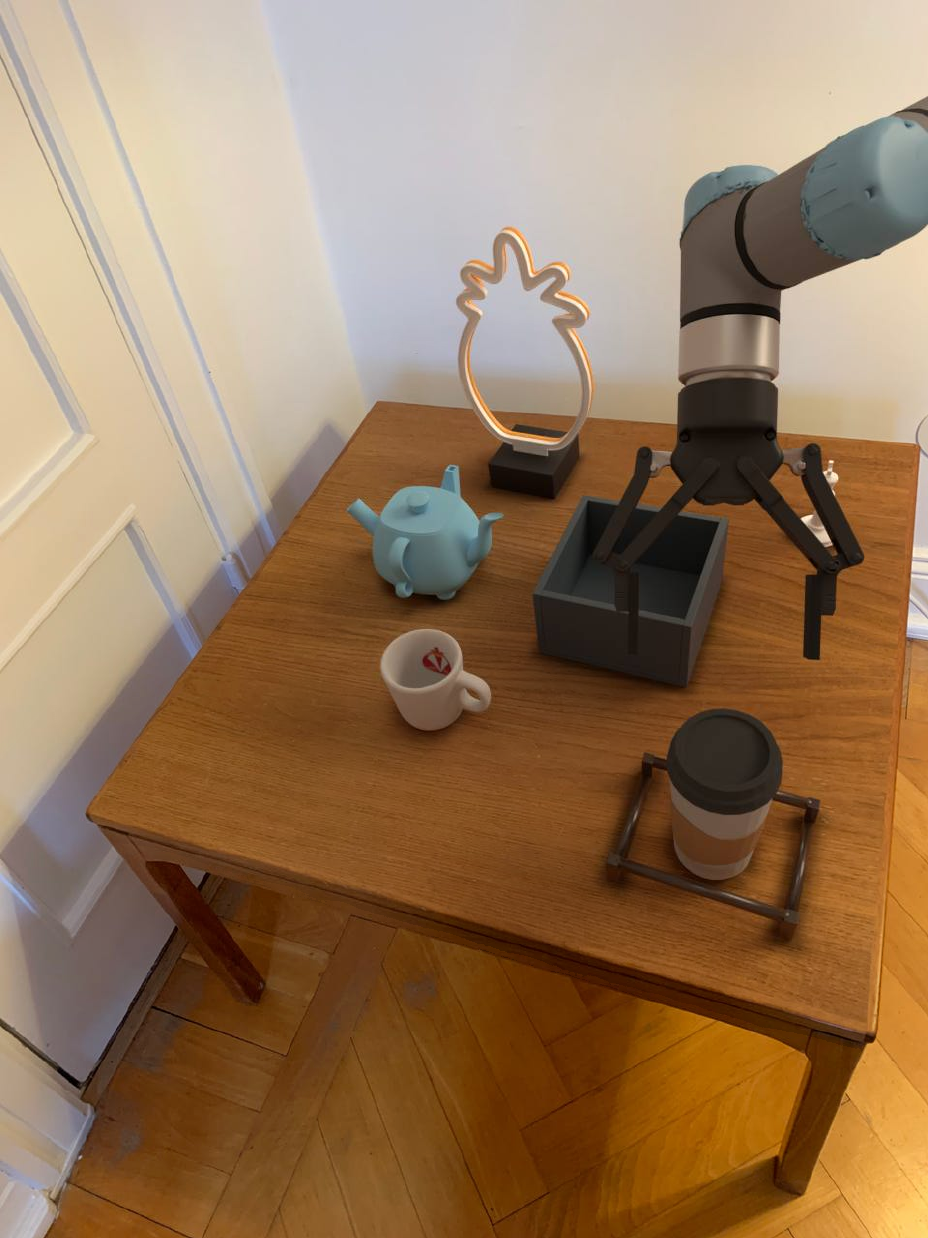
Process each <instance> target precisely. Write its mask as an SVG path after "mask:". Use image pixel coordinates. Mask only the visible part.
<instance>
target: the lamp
mask: <svg viewBox="0 0 928 1238" xmlns="http://www.w3.org/2000/svg"><path fill="white" fill-rule="evenodd" d="M507 245H508V246H510V247H511V249H512V250H513V253H514V255H515V258H516V261H517V265H518V270H519V274H520V279H521V280H520V281H521V284H522V287H523V289H524V291H525V292H530V291H532V290H534V289H535V288H537V287H538V286H539V285H541V284H543V283H545V282H546V281H548V280H550V279H552V278H554V280H553V281H551V283H549V285H548V286H547V287H546V288H545V289H544V290H543V291H542V292H541V294H540V295H539V299H540V301H542V302H544V303H546V304H549V305H552V306H554V307H557V308H560V309H561V310H564V311H566V312H567V313H564V314H560V315H554V316H553V317H552V319H551V324H552V326H554V328H555V330H556V331H557V332H558V334H559V335H560V336H561V338H562V339H563V341H564V343H565V344H566V346H567V348H568V349H569V351H570V353H571V355H572V357H573V359H574V361H575V364H576V366H577V370H578V374H579V377H580V383H581V399H580V406H579V411H578V415H577V417H576V419H575V421H574V423H573V425H572V426H571V428H570V429H569V430H568V431H562V430H557V429H551V428H545V427H544V428H543V427H539V426H532V425H524V424H519V423H515V425H514V426H513V427H512V429H511V430H509V429H507V428H506V427H504V426H503V425H502V424H501V423H500V422H499V421H498V420H497V419H496V417H495V416H494V415H493V414H492V412H491V411H490V409H489V407H488V406H487V404H486V403H485V401H484V400H483V398H482V396H481V394H480V392H479V390H478V388H477V385H476V382H475V379H474V376H473V371H472V366H471V345H472V340H473V337H474V334H475V331H476V328H477V327H478V324H479V322H480V321H481V319H482V318H483V316H484V312H483V311H482V310H481V309H480V308H479V307H478V306H477V305H475V303H474V302H473V301H483V300H485V299H486V298H487V296H488V295H489V294H488V290H487V288H485V283H488V284H489V285H490V284H491V285H497V284H499V283H500V282H501V281H502V280H503V278H504V276H505V273H506V272H507V266H508V255H507V253H508V252H507ZM492 258H493V259H492V260H493V265H491V264H488V263H486V262H484V261H482V260H481V259H471V260H468V261H467V262H466V263H465V264H464V265H463V267H461V269H460V271H459V277H460V280H461V283H462V284H463V285H464V286H465V287H466V288H465V289H463V290H462V292H461V293H459V294H458V295H457V297H456V299H455V304H456V307H457V309H458V310H459V311H460V312H461V313H462V314H463V315H464V316H465V317H466V319H467V322H466V324H465V325H464V327H463V330H462V334H461V337H460V340H459V344H458V345H459V346H458V352H457V365H458V375H459V379H460V383H461V386H462V390H463V392H464V395H465V397H466V399H467V401H468V403H469V404H470V407H471V409H472V410H473V412H474V414H475V415H476V417H477V418H478V419H479V421H480V422H481V424H482V425H483V426H484V428H485V429H486V430H487V431H488V432H489V433H490V434H491V435H492V436H494V437H495V438H496V439H497V440H499V441H501V442H502V443H501V445H500V446H499V448H498V449H497V450H496V451H495V453H494V455H493V456H492V457H491V459H490V460H489V461H488V463H487V467H488V473H489V479H490V486H491V488H495V489H500V490H505V491H510V492H515V493H521V494H526V495H531V496H536V497H542V498H546V499H550V500H551V499H552V500H555V499H556V497H557V496H558V495H559V492H560V491H561V489H562V488H563V486H564V484H565V483H566V481H567V479H568V477H569V476H570V475H571V473H572V471H573V469H574V468H575V466H576V464H578V461H579V459H580V458H581V457H580V440H579V439H580V438H579V437H580V436H579V433H580V431H581V429H582V428H583V426H584V424H585V423H586V420H587V419H588V416H589V414H590V411H591V409H592V405H593V399H594V390H595V389H594V387H595V384H594V374H593V369H592V365H591V362H590V358H589V355H588V352H587V350H586V347H584V346H585V345H583V342H582V340H581V338H580V337H579V335H578V333H577V332H576V330H575V329H579V328H580V329H581V328H582V327H584V325H585V324H586V322H587V321H588V320H589V318H590V316H591V310H590V308H589V306H588V304H587V303H586V302H585V301H584V300H582V299H581V298H580V297H579V296H577V295H574V294H571V293H569V292H565V291H562V289H563V288H564V287H565V285H566V284H567V283H568V282H569V281H570V279H571V274H572V273H571V269H570V267H569V266H568V265H567V264H566V263H565V262H562V261H553V262H551V263H548V264H547V265H545V266H543V267H542V268H541V269H540V270H536V269H535V266H534V261H533V255H532V252H531V249H530V246H529V244H528V242H527V239H526V237H525V236H524V234H523V233H522V232H521V231H520V230H519V229H517V228H515V227H513V226H505V227H503V228H502V229H500V231H499V232H498V234H497V235H496V236H495V237H494V240H493V243H492ZM483 281H484V282H485V283H484V282H483Z"/></svg>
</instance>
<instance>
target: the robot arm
mask: <svg viewBox="0 0 928 1238" xmlns="http://www.w3.org/2000/svg"><path fill="white" fill-rule="evenodd" d="M684 197H685V198H684V203H683V214H682V215H683V216H682V227H681V228H682V230H681V231H680V237H679V242H678V243H679V250H680V283H679V285H680V287H679V288H680V290H679V301H680V302H679V336H678V368H677V369H678V371H677V372H678V373H677V380H678V382H679V383H681V384H682V385H683V386H684V387H683V386H682V388H681V389H680V391H679V392H678V393H677V409H676V410H677V414H676V415H677V416H676V442H675V446H674V449H673V450H672V451H665V450H664V451H663V450H656V449H655V450H654V449H651V448H650V447H649V446H646V445H644V446H641V447H638V449H637V452H636V457H635V464H634V470H633V471H634V472H633V476H632V477H631V479H630V481H629V483H628V485H627V488H626V489H625V491H624V493H623V494H622V496H621V498H620V500H619V501H620V502H619V504H618V506H617V508H616V510H615V512H614V514H613V516H612V517H611V519H610V521H609V523H608V525H607V527H606V529H605V531H604V533H603V535H602V537H601V538H600V540H599V542H598V544H597V546H596V548H595V550H594V552H593V559H594V561H596V562H597V563H600V564H602V565H605V566H608V567H610V568H611V569H612V570H613V571H614V573H615V599H614V605H615V608H616V611H622V612H629V622H628V654H635V655H637V654H638V619H639V574H640V573H632V572H631V567H632V565H633V564H634V563H635V562H636V561H637V560H638V559H639V558H640V556H641V555H642V554H643V553H644V552H645V551H646V550H647V549H648V547H649V546H650V545H651V544H652V543H653V542H654V541H655V540H656V538H657V537H658V536H659V535H660V534H661V533H662V532H663V531H664V529H665V528H666V527H667V526H668V525H669V524H670V523H671V522H672V520H673V519H674V518H675V517H676V516H677V515H678V514H679V513H680V511H683V509H685V507H686V506H688V505H689V503H690V502H691V501H692V499H693V500H694V501H695V502H696V503H697V504H698V503H699V504H700V505H702V506H716V505H720V504H727V505H731V506H744V505H747V504H749V503H751V502H753V501H755V502H756V503H757V504H758V505H759V507H760V508H761V509H762V510H764V511H765V512H766V513H767V514H768V515H769V517H770V518H771V519H772V521H774V522H775V524H776V525H777V526H778V527H779V529H781V530H782V532H783V533H784V534H785V535H786V537H788V539H789V540H790V541H791V542H792V543H793V544H794V546H795V547H796V548H797V549H798V550H799V551H800V553H801V554H802V555H803V556H804V558H806V560H807V561H808V562H809V563H810V564H811V565H812V566H813V568H814V569H815V570H816V574H814V573H813V574H810V573H809V574H805V582H804V583H805V584H804V614H803V616H804V617H803V641H802V642H803V645H802V647H803V649H802V657H803V658H804V659H807V660H808V661H821V639H822V638H821V634H822V617H823V616H825V617H826V616H830V617H831V616H834V614H835V612H836V610H837V589H838V587H837V585H838V576H839V574H840V572H842V571H844V570H846V569H849V568H852V567H855V566H858V565H861V564H863V562H864V560H865V553H864V551H863V549H862V547H861V545H860V544H859V541H858V539H857V537H856V535H855V533H854V532H853V529H852V528H851V525H850V524H849V522H848V519H847V517H846V515H845V513H844V510H843V509H842V507H841V506H840V503H839V501H838V498H837V497H836V494H835V495H834V493H833V491H834V490H833V488H832V489H831V487H830V485H829V483H828V481H827V479H826V477H825V475H824V473H823V472H824V470H823V469H824V468H823V458H822V457H823V456H822V449H821V448H822V447H820V445H819V444H818V443H815V442H810V443H808V444H807V445H806V446H804V447H796V448H789V449H782V448H781V447H780V444H779V441H778V414H779V413H778V412H779V411H778V409H779V388H778V387H777V386H776V384H775V383H774V382H773V381H774V380H775V379H776V378H777V377H778V376H779V374H780V337H781V336H780V332H781V318H782V317H781V306H782V305H781V303H782V291H784V290H788V289H792V288H794V287H796V286H798V285H800V284H802V283H804V282H806V281H809V280H811V279H814V278H817V277H819V276H822V275H824V274H827V273H829V272H832V271H835V270H838V269H841V268H843V267H844V266H848V265H851V264H853V263H856V262H858V261H861V260H870V259H873V258H875V257H878V256H881V255H882V253H884V252H885V251H887V250H889V249H892V248H893V247H896V246H897V245H899V244H901V243H903V242H905V241H907V240H909V239H911V238H913V237H915V236H917V235H918V234H919V233H920V232H922V231H923V230H924V229H925V228H926V227H928V95H927V96H925V97H923V98H921V99H920V100H918V101H916V102H914V103H912V104H910V105H908V106H907V107H904V108H903V109H901V110H897V111H896V112H894V113H891V114H889V115H888V116H883V117H880V118H878V119H875V120H873V121H871V122H869V123H867V124H865V125H860V126H858V127H855V128H854V129H852V130H850V131H849V132H847V133H845V134H843V135H839V136H837V138H835V139H833V140H832V141H830V142H829V143H827V144H826V145H825V146H824V147H823V148H820V149H819V150H817V151H816V152H813V153H812V154H811V155H809V156H807V157H806V158H803V159H802V160H801V161H799V162H797V163H796V164H794V165H792V166H791V167H789V168H788V169H786V170H784V171H782V172H781V173H779V174H778V173H777V172H776V171H774V170H773V169H771V168H769V167H766V166H762V165H755V164H740V165H738V164H737V165H731V166H727V167H725V168H724V169H723V170H721V171H711V172H708V173H706V174H705V175H703V176H701V177H699V178H698V179H697V180H696V181H695V182H694V183H692V185H691V186H690V187H689V189H688V190H687V193H686V195H685V196H684ZM782 465H784V466H787V467H788V468H789V469H790V472H791V474H792V475H793V476H795V477H800V479H801V483H802V485H803V488H804V490H805V492H806V494H807V496H808V499H809V500H810V502H811V504H812V506H813V508H814V511H815V510H816V512H817V514H818V516H819V518H820V520H821V522H822V524H823V526H824V528H825V530H826V532H827V534H828V536H829V538H830V540H831V542H832V544H833V545H832V546H833V548H834V551H835V553H836V554H832V553H831V552H830V551H829V549H828V548H827V547H825V546H824V545H823V544H822V543H821V542H820V540H819V539H818V538H817V537H816V536H815V535H814V534H813V532H812V531H811V530H810V529H809V528H808V527H807V525H806V524H805V523H804V522H803V521H802V520H801V518H802V517H800V516H799V515H798V514H797V512H796V511H795V510H794V509H793V508H792V507H791V506H790V505H789V504H788V502H787V501H786V500H785V499H784V497H783V496H782V494H781V492H780V490H778V488H776V486H775V485H774V484H773V483H772V482H771V480H772V478H773V477H774V476H775V475H776V474H777V472H778V470H779V469H780V468H781V466H782ZM665 467H670V468H671V471H672V472H673V473H674V475H675V476H676V477H677V478H678V480H679V481H680V483H681V485H680V486H679V488H678V489H677V490H676V491H675V492H674V493H673V495H672V496H670V498H669V499H668V500H667V502H666V503H664V505H663V506H662V507H661V508H662V509H661V510H660V511H659V512H658V513H657V514H656V515H655V516H654V518H653V519H652V520H651V521H650V522H649V523H648V524H647V526H646V527H645V528H644V529H643V530H642V531H641V532H640V533H639V535H638V536H637V537H636V538H635V539H634V540H633V541H632V542H631V544H630V545H629V546H628V547H627V548H626V549H625V550H624V552H623V553H622V554H621V555H619V554H616V553H613V552H612V551H613V549H614V548H615V546H616V544H617V542H618V540H619V538H620V536H621V534H622V532H623V530H624V529H625V527H626V525H627V523H628V521H629V519H630V517H631V515H632V513H633V512H634V510H635V508H636V506H637V504H639V502H640V500H641V498H642V496H643V494H644V493H645V491H646V489H647V486H648V483H649V480H650V478H651V479H655V478H658V477H659V476H660V474H661V472H662V470H663V469H664V468H665ZM832 490H833V491H832Z"/></svg>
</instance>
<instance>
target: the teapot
mask: <svg viewBox="0 0 928 1238" xmlns="http://www.w3.org/2000/svg"><path fill="white" fill-rule="evenodd" d="M459 468H460V467H459V465H455V464H449V465H448V466H447V467H446V469H444V474H443V476H442V481H441V484H440V487H436V486H430V485H429V486H428V485H412V486H406V487H403V488H401V489H400V490H398V491H396V492H395V494H393V496H392V497H391V498H390V499H389V501H388V502H387V503H386V504H385V506H384V508H383V509H382V511H381V512H380V515H378V514H377V513H376V512H375V511H374V510H373V509H371V507H370V506H368V505H367V504H365V502H364V501H362V500H361V498H359V497H357V499H356V500H354V501H353V502H352V503H351V504H350V505H349V506H348V508H347V509H346V512H347V513H348V514H349V515H350V516H351V517H352V518H353V519H354V520H355V521H356V522H357V523H358V524H359V525H360V526H361V527H362V528H364V529H365V530H366V531H367V532H368V533H369V534H370V536H372V537H373V539H372V559H373V565H374V568H375V570H376V571H377V573H378V574H379V576H380V577H382V578H383V579H384V580H385V581H387V582H388V583H389V584H391V585H393V586H394V587H395V594H396V596H397V597H399V598H401V599H406V598H409V597H410V596H411V595H412V594H418V595H419V594H420V595H428V596H429V595H430V596H431V595H433V596H435V595H436V597H437V598H438V599H439V600H446V601H447V600H450V599H451V598H453V597H454V596H455V595H456V592H457V591H459V589H461V588H463V586H464V585H465V584H466V583H467V582H468V581H469V579H470V578H471V576H472V575H473V574H474V572H475V570H476V569H477V567H478V565H479V564H480V563H481V562H482V561H483V560H484V559H486V558H487V556H488V555H489V553H490V551H491V549H492V544H493V533H492V532H493V531H492V527H493V524H494V523H495V522H497V521H499V520H501V519H502V518H503V517H504V513H502V512H491V513H487V514H485V515H483V516H482V517H481V519H479V518H478V516H477V515H476V513H475V512H474V511H473V509H472V508H471V507H470V506H469V504H468V503H467V502H466V501H465V500H464V499H463V498H462V495H461V483H460V482H461V481H460V480H461V479H460V469H459Z"/></svg>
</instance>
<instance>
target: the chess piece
mask: <svg viewBox="0 0 928 1238" xmlns="http://www.w3.org/2000/svg"><path fill="white" fill-rule="evenodd" d="M834 462H835V461H834V460H831V459H830V460H829V461H828V464H827V470H825V471H824V470H823V473H824V475H825V477H826V479H827V481H828V483H829V485H830V487H831V489H832V491H833V493H834V495H835V496H836V492H835V491H834V490H833V489H834V486H835V485H836V484H837V483H838V482H839V475H838V474H837V473H836V472H834V471H833V468H834ZM800 518H801V520H802V521H803V522H804V523H805V524H806V525H807V527H808V528H809V529H810V530H811V531H812V532H813V534H814V535H815V536H816V537H817V538H818V539H819V540H820V542H821V543H822V544H823V545H824V546H825V547H826V548H829V547H831V546H833V544H832V542H831V540H830V538H829V536H828V534H827V532H826V530H825V528H824V526H823V524H822V522H821V520H820V518H819V516H818V514H817V512H816V510H815V509H814V511H813V513H812V514H809V515H805V516H802V517H800Z"/></svg>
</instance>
